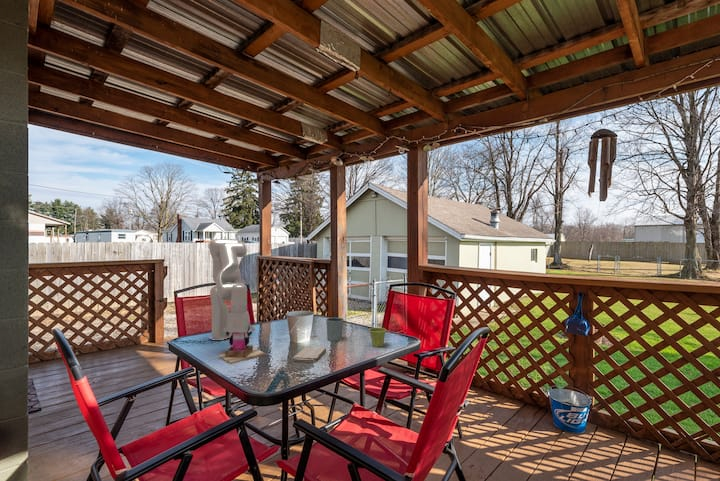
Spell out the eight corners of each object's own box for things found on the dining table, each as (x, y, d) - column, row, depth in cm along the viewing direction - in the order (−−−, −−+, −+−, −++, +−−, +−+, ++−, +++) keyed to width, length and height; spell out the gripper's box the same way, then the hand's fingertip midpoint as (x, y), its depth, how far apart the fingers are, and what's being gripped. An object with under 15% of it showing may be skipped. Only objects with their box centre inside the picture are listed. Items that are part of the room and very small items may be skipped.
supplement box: (233, 351, 172) (233, 329, 172) (246, 351, 174) (246, 328, 174) (232, 355, 167) (232, 332, 167) (245, 354, 168) (245, 331, 168)
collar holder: (217, 356, 170) (217, 348, 170) (251, 348, 183) (250, 340, 183) (230, 364, 159) (230, 355, 159) (265, 355, 171) (265, 347, 171)
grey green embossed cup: (324, 338, 201) (323, 318, 201) (339, 336, 205) (339, 316, 205) (329, 342, 192) (329, 321, 192) (346, 340, 196) (346, 319, 196)
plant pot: (380, 349, 179) (380, 332, 179) (365, 346, 185) (365, 330, 185) (389, 345, 187) (389, 329, 187) (375, 342, 192) (375, 326, 193)
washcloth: (291, 363, 161) (291, 356, 161) (304, 351, 178) (304, 345, 178) (315, 364, 159) (315, 358, 159) (326, 352, 176) (326, 346, 176)
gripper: (218, 310, 167) (218, 347, 167) (253, 310, 166) (253, 347, 166) (225, 307, 174) (225, 342, 174) (258, 307, 174) (258, 342, 174)
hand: (239, 344), depth 170 cm, fingers closed on supplement box, 6 cm apart
